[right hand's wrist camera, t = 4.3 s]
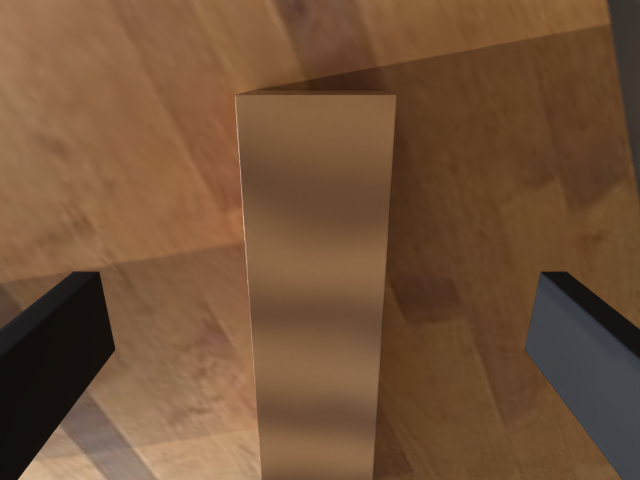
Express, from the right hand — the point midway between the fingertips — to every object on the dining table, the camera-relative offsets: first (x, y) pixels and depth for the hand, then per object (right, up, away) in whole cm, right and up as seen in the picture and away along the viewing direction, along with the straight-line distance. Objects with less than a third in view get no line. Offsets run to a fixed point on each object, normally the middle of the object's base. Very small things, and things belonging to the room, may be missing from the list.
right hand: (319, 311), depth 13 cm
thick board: (0, -24, +32) cm, 40 cm away
